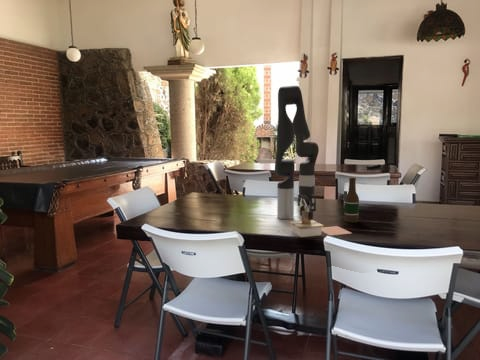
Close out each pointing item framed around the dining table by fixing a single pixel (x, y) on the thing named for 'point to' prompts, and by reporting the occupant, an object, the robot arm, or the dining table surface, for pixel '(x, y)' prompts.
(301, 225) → the lid
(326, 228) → the mat
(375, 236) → the dining table surface
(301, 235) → the beige square tray
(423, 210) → the dining table surface
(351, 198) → the beer bottle
